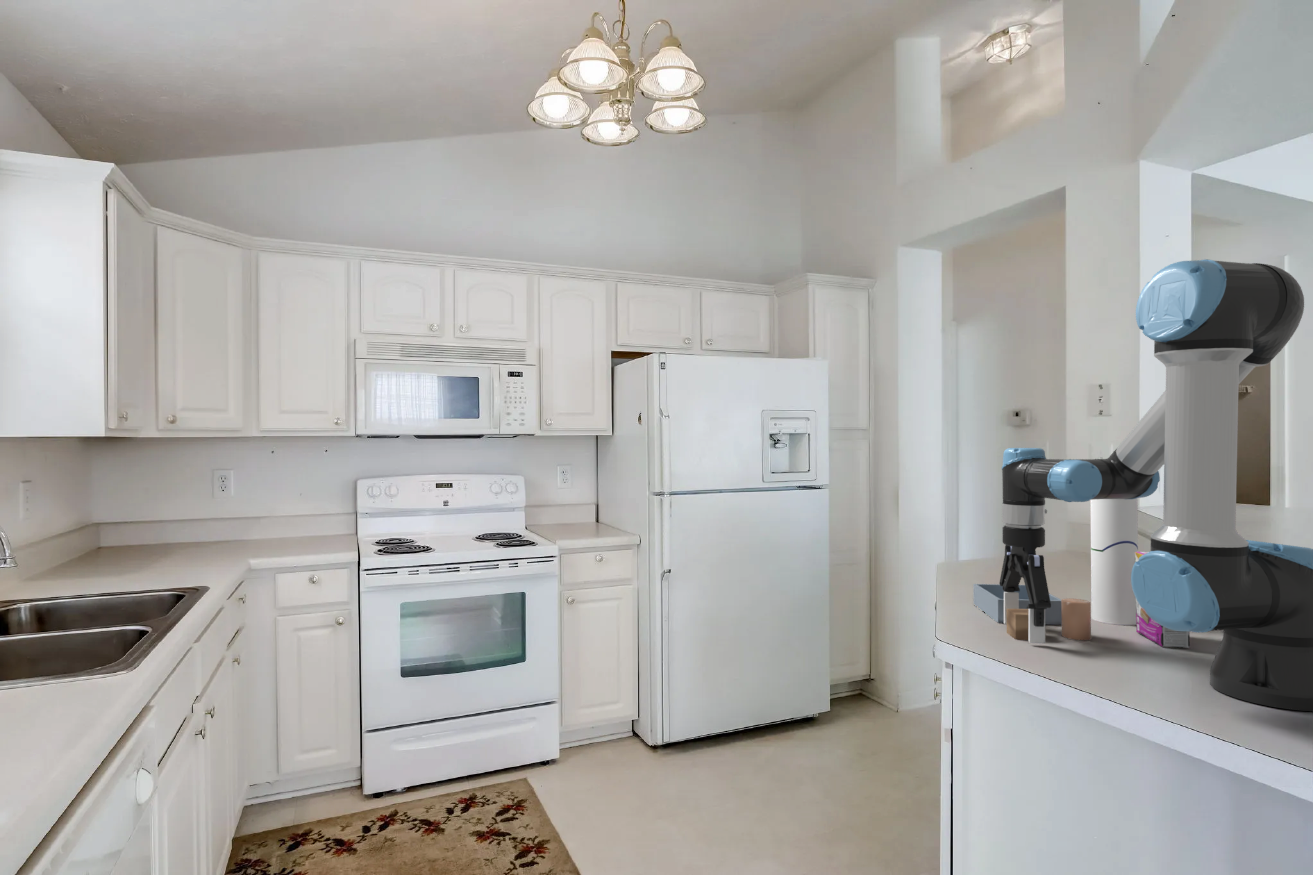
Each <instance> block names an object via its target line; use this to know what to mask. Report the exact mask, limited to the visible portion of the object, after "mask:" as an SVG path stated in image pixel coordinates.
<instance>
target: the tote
mask: <svg viewBox="0 0 1313 875" xmlns="http://www.w3.org/2000/svg"><path fill="white" fill-rule="evenodd" d="M972 586H973V587H972V588H973V605H974V604H975V605H976V606H978V608H980V609H981V610H982V611H984V612H985V613H986V614H987V615H986V614H985V613H984V612H983V613H984V614H985V615H986V616H988V615H989V616H990V617H989V616H988V617H989V618H991V619H992V620H993V619H994V620H993V621H995V622H996V623H997V622H998V623H997V624H1004V592H1005V591H1003V589H1002V587H1003V586H1000V584H999V583H998V584H997V583H973V584H972ZM1018 586H1019V589H1020V591H1014V592H1018V593H1019V609H1028V608H1027V606H1028V605H1029V604H1030V601H1029V597H1028V594H1027V590H1026V586H1025V584H1019V585H1018ZM1049 597H1050V602H1051V608H1047V609H1045V625H1052V626H1056V625H1057V626H1060V625H1061V626H1062V614H1061V600H1062V599H1061V598H1059V597H1057V596H1055V595H1053V594H1051V593H1049ZM976 606H975V607H976ZM978 608H977V609H978ZM980 609H979V610H980ZM981 610H980V611H981ZM982 611H981V612H982Z"/></svg>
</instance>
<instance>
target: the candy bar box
mask: <svg viewBox="0 0 1313 875" xmlns="http://www.w3.org/2000/svg"><path fill="white" fill-rule="evenodd" d="M1148 552H1149V551H1138V552H1135V562H1137V561H1139V557H1141V556H1142V555H1144V554H1146V553H1148ZM1135 626H1136V627H1135V628H1136V633H1138V634H1139V635H1141V636H1143V637H1145V638H1146V639H1148V640H1150V641H1151V642H1153V643H1155V644H1157V645H1158V646H1160V647H1162V648H1167V649H1168V648H1169V649H1190V648H1191V647H1190V646H1191V644H1190V643H1191V642H1190V641H1191V640H1190V638H1191V637H1190V632H1191V631H1175V630H1171V629H1168V628H1166V627H1163V626H1161V625H1160V624H1158V623H1157V622H1155V621H1154V620H1153V619H1151V618H1150V617H1149V616H1148V615H1147V613H1146V611H1145V609H1144V608H1142V607H1141V606H1140V605H1139V603H1138V601H1137V599H1136V625H1135Z"/></svg>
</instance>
